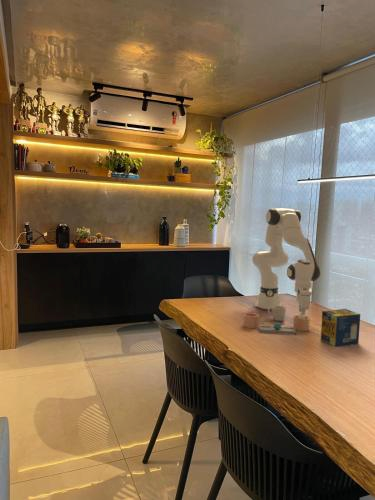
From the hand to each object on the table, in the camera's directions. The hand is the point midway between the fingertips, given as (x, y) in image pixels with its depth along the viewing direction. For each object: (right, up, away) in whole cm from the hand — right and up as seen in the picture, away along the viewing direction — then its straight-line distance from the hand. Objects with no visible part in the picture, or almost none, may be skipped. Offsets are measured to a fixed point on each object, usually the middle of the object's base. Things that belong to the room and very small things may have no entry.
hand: (301, 313), depth 209 cm
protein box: (+13, -11, -20) cm, 26 cm away
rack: (-15, -9, -4) cm, 18 cm away
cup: (-10, -7, +18) cm, 22 cm away
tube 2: (0, -9, +1) cm, 9 cm away
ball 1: (-15, -6, -5) cm, 17 cm away
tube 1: (-28, -8, +4) cm, 29 cm away
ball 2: (0, -2, 0) cm, 2 cm away
